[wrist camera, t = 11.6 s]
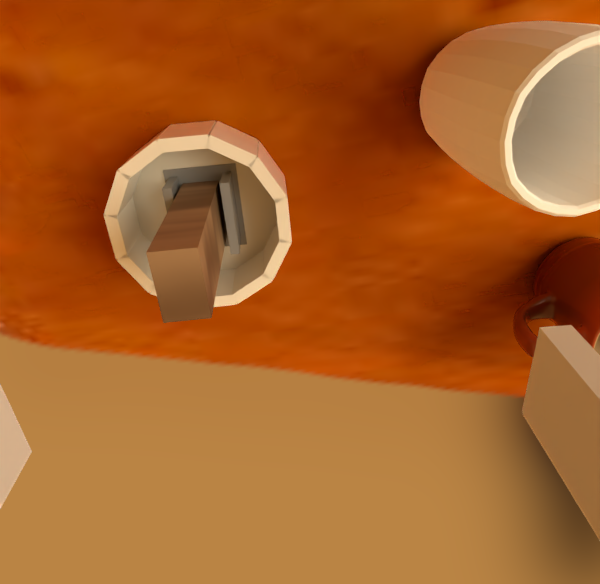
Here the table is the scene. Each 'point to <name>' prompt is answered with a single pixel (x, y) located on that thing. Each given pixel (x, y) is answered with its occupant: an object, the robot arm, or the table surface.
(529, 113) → the cup
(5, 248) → the table surface
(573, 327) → the robot arm
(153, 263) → the tall brown wooden block
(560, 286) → the mug
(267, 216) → the white round bowl
